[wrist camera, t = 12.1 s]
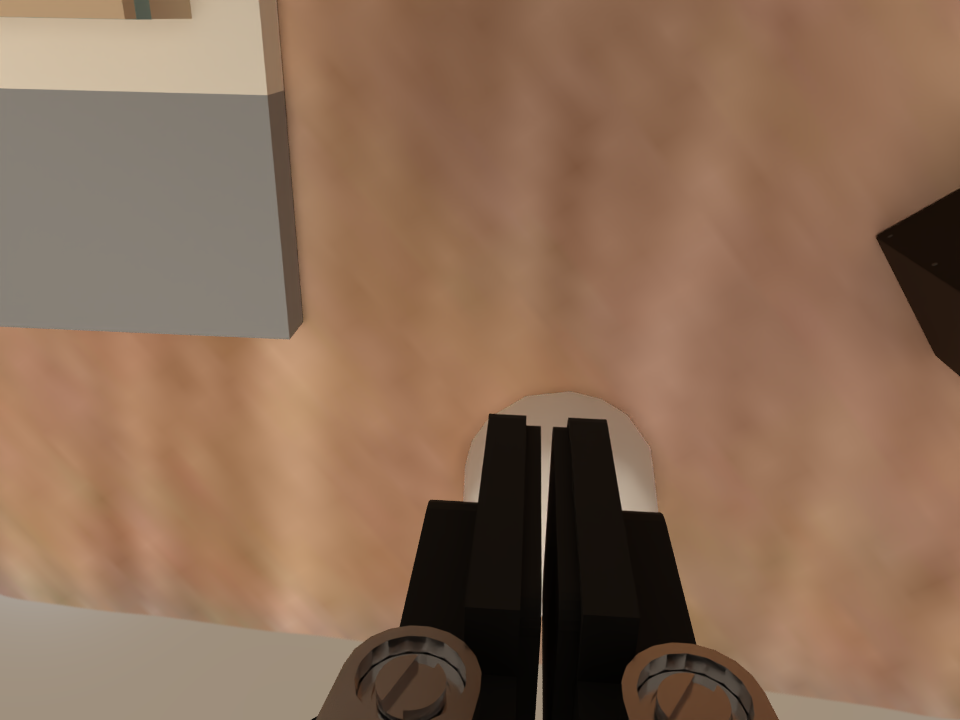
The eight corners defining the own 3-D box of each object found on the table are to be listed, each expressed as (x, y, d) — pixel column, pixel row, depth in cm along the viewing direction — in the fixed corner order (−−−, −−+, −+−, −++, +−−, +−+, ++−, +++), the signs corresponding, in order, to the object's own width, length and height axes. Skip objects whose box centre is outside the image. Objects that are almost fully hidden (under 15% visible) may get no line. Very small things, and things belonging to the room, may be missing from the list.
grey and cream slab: (-119, -271, 32) (-169, -293, 30) (254, -272, 31) (231, -294, 29) (21, 309, 43) (-8, 326, 41) (303, 322, 42) (289, 339, 40)
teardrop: (620, 364, 42) (649, 486, 31) (678, 522, 46) (721, 681, 35) (435, 425, 44) (401, 558, 33) (505, 570, 48) (495, 733, 37)
